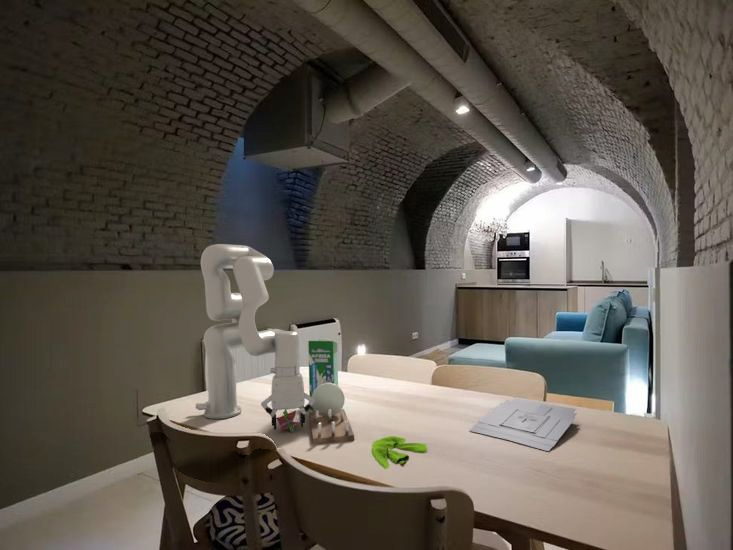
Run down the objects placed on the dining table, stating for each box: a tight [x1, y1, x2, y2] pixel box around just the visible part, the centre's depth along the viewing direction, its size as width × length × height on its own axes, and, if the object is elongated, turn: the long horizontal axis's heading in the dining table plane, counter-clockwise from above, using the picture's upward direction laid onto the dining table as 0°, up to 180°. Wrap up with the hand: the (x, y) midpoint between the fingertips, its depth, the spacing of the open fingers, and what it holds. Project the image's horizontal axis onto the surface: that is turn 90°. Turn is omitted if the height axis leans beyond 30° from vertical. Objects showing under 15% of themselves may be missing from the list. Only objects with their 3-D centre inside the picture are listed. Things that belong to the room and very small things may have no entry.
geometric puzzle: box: [276, 409, 301, 433], centre depth 136 cm, size 7×7×8 cm
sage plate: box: [312, 383, 345, 417], centre depth 144 cm, size 11×1×11 cm, turn 100°
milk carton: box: [308, 337, 339, 411], centre depth 160 cm, size 9×9×25 cm
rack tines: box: [313, 408, 349, 437], centre depth 139 cm, size 9×24×4 cm, turn 10°
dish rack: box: [308, 410, 355, 445], centre depth 139 cm, size 12×25×2 cm, turn 10°
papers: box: [468, 397, 578, 452], centre depth 136 cm, size 24×30×4 cm
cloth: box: [371, 435, 428, 470], centre depth 118 cm, size 20×22×2 cm
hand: (288, 426), depth 136 cm, fingers closed on geometric puzzle, 7 cm apart
